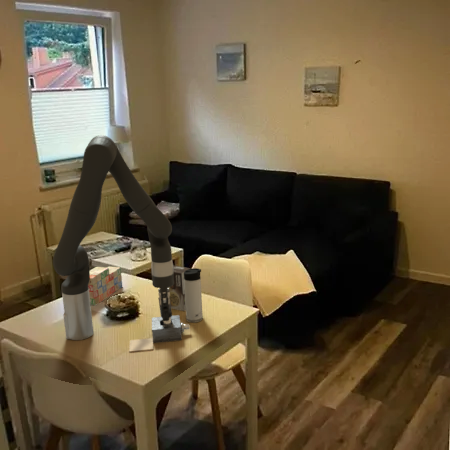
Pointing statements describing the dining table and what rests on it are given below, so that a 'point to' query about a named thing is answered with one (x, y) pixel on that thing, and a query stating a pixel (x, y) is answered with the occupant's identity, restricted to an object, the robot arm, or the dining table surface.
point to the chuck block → (167, 329)
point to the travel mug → (193, 295)
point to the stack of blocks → (103, 283)
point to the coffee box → (178, 289)
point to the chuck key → (169, 313)
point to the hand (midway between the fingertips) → (165, 317)
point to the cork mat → (141, 345)
